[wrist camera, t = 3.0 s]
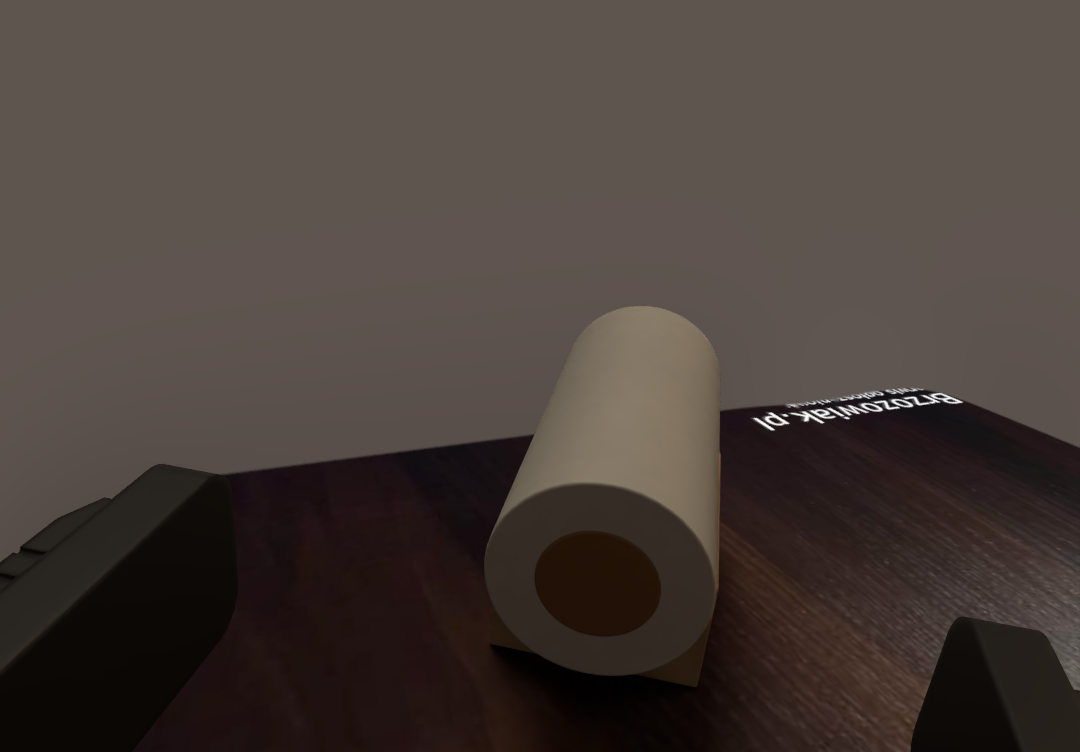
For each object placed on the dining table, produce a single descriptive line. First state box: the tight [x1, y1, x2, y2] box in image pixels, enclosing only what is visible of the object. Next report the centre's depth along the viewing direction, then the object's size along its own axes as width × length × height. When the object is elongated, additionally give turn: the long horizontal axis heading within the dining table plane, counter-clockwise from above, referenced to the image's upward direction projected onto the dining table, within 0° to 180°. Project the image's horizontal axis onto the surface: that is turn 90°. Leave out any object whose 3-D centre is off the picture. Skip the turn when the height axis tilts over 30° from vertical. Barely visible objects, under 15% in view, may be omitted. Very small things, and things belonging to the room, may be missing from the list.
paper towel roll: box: [484, 306, 720, 676], centre depth 28 cm, size 6×13×6 cm, turn 169°
